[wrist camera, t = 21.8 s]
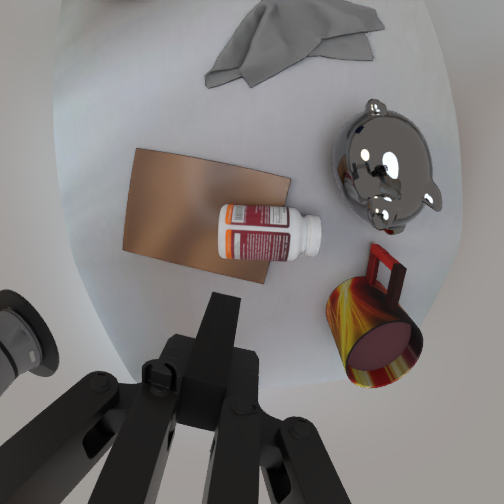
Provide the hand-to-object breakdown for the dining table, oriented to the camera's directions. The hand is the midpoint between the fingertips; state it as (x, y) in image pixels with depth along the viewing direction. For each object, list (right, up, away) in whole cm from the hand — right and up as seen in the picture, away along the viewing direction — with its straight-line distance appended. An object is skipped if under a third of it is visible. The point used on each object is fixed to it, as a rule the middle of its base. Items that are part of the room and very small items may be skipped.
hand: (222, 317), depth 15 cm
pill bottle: (-2, +6, +18) cm, 19 cm away
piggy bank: (+16, +14, +19) cm, 28 cm away
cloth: (+7, +32, +13) cm, 35 cm away
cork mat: (-5, +8, +21) cm, 23 cm away
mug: (+16, -3, +24) cm, 29 cm away
